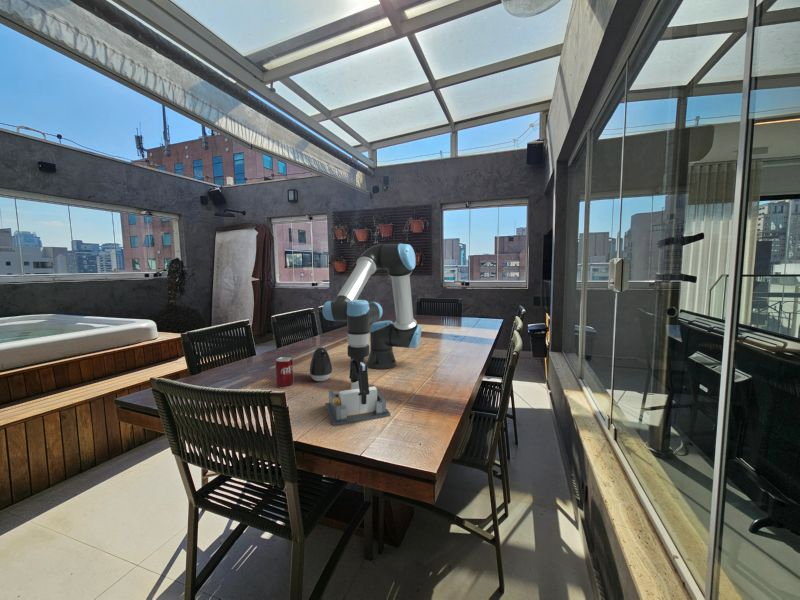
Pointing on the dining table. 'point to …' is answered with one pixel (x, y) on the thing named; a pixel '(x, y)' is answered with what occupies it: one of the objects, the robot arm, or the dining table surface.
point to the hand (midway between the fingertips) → (359, 405)
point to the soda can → (284, 372)
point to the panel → (357, 400)
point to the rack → (340, 414)
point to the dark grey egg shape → (320, 365)
